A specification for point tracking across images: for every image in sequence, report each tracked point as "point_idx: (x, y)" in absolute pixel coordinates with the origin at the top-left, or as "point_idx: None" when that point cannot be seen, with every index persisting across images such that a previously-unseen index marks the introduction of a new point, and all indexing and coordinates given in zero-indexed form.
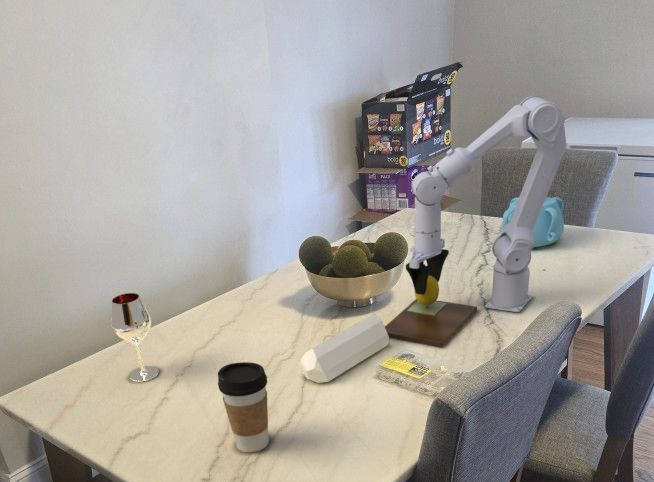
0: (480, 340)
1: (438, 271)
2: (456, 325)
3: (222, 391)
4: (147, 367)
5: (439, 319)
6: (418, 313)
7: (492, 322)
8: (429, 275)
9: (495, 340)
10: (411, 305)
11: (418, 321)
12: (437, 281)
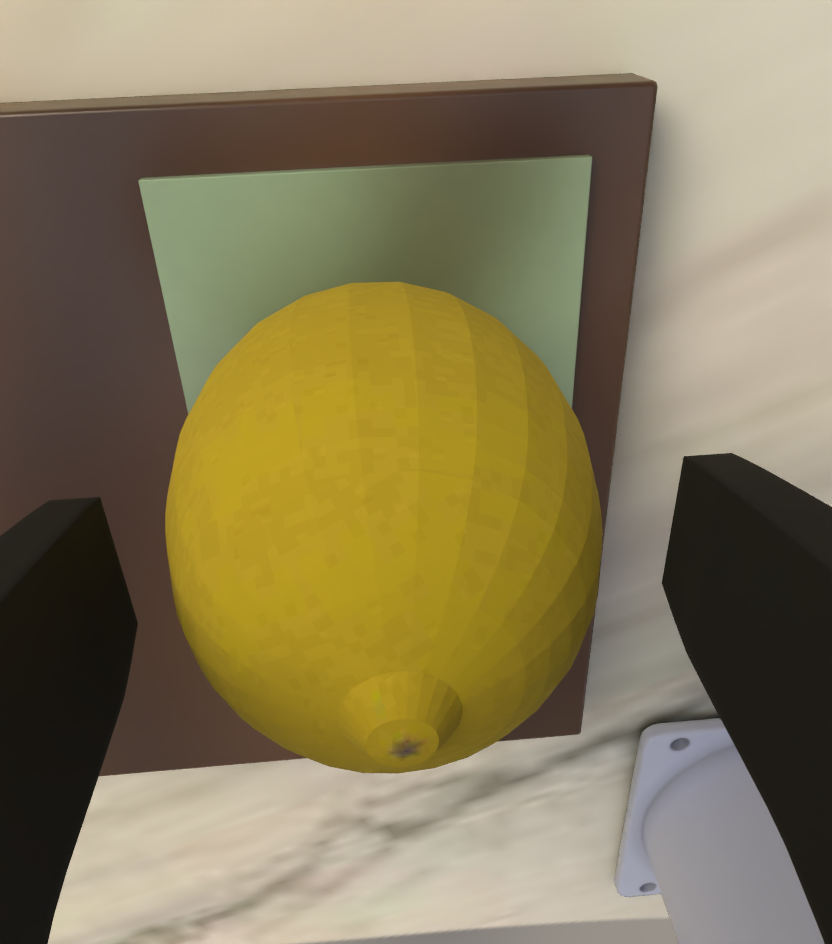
0: (103, 873)
1: (759, 745)
2: (134, 760)
3: None
4: None
5: (158, 612)
6: (165, 360)
7: (411, 829)
8: (469, 726)
9: (161, 920)
10: (349, 141)
11: None
12: (670, 586)
